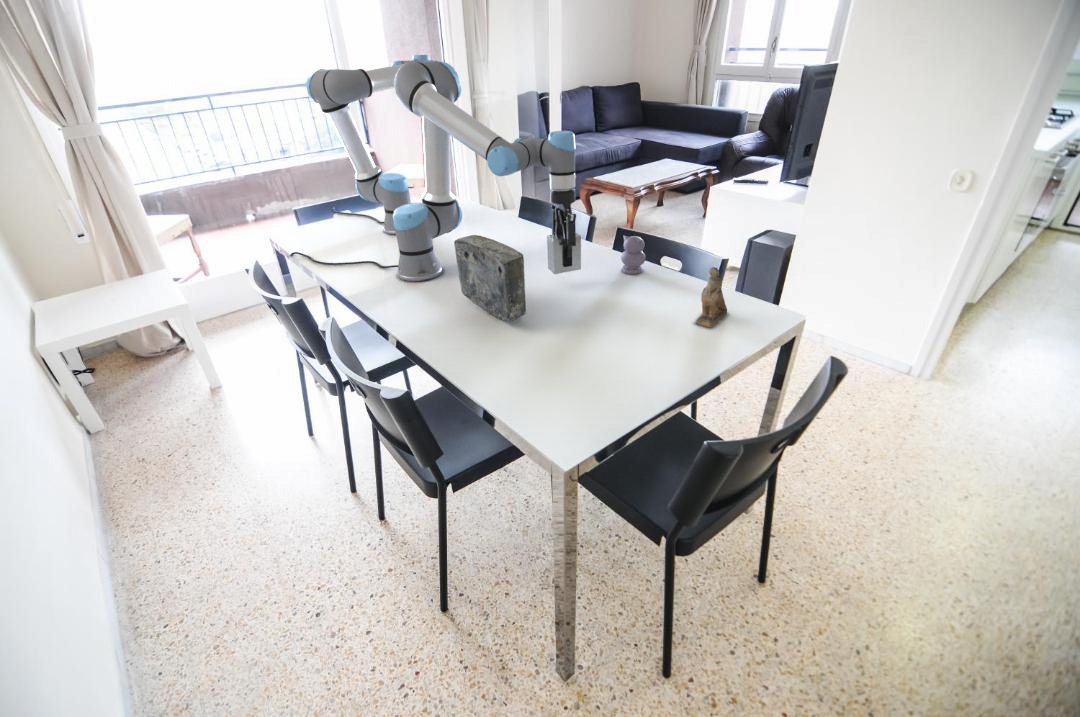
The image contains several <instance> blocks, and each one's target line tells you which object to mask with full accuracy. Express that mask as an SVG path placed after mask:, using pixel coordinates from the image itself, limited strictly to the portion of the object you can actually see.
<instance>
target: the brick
mask: <svg viewBox="0 0 1080 717" xmlns="http://www.w3.org/2000/svg"><path fill="white" fill-rule="evenodd" d="M562 246H565V245H564V237H563V233H559V234H553V235H552V234H547V235H546V249H547V269H548V270H549V271H550V272H551V273H552V274H554V275H558V274H563V273H568V272H574V271H579V270H582V236H581V235H580V234H579V233H577V232H576V246H572V266H569V267H564V265H563V247H562Z"/></svg>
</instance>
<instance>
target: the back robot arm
mask: <svg viewBox="0 0 1080 717" xmlns="http://www.w3.org/2000/svg"><path fill="white" fill-rule="evenodd" d="M427 61H434V60H433V59H431V58H430V56H429V55H428V54H413V55H412V60H395V61H393V62H392V63H391V65H390V66H385V67H381V68H375V69H370V70H365V69H363V68H358V69H339V68H333V69H331V68H330V69H329V68H328V69H325V68H321V69H316V70H313V71H311V72H310V73H309V74H308V76H307V78H306V82H305V88H306V92H307V94H308V97H309V98H310V99H311V100H312V101H313V102H314V103H316V104H318V105H319V107H320V109H321V111H322V114H324V115H327V116H328V118H330V121H331V123H332V125H333V127H334V129H335V131H336V133H337V135H338V137H339V140H340V141H341V143H342V145H343V148H344V150H345V151H346V153H347V156H348V157H349V160H350V162H351V164H352V166H353V168H354V170H355V175H354V177H355V189H356V190H355V191H356V192H357V194H358V195H359V196H360V197H361V199H363V200H365V201H367V202H370V203H377V204H382V205H383V210H384V220H383V221H380V220H379V219H377V218H376V217H374V216H371V215H368V214H362V213H353V212H344V211H343V212H342V211H338V210H336V208H335V207H333V208H332V210H333V212H334V213H335V214H340V215H348V216H359V217H366V218H370V219H372V220H374V221H376V222H377V223H379V224H383V231H384V233H385V234H387V235H395V236H396V232H395V227H394V224H393V223H394V220H393V213H394V211H395V210H396V209H397V208H399V207H400V206H403V205H405V204H410V203H412V202H411V195H410V190H409V182H408V180H407V177H406V176H405V175H403V174H401V173H397V172H394V173H393V172H384V173H383V171H382V169H381V167H380V166H378V165H376V164H375V162H374V159H373V157H372V155H371V153H370V151H369V148H368V147H367V146H368V145H367V144H366V141H365V140H364V138H363V135H362V132H361V130H360V128H359V126H358V124H357V122H356V120H355V117H354V115H353V112H352V111H351V109H350V108H351V104H352V103H355V102H357V101H360V100H364V99H367V98H371V97H372V95H373V94H375V93H379V92H383V91H388V90H391V89H395V88H394V80H395V76H396V73H397V71H398V70H399V69H400V68H401V67H402V66H403V65H405V64H407V63H411V62H427Z"/></svg>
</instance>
